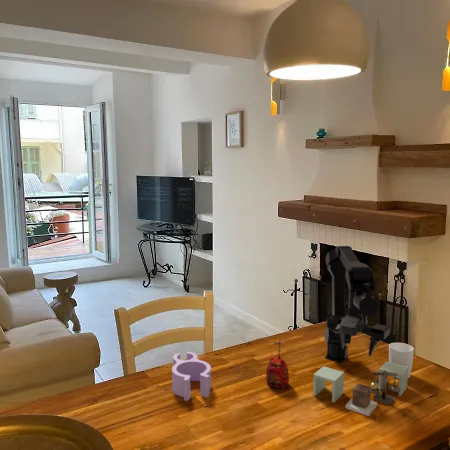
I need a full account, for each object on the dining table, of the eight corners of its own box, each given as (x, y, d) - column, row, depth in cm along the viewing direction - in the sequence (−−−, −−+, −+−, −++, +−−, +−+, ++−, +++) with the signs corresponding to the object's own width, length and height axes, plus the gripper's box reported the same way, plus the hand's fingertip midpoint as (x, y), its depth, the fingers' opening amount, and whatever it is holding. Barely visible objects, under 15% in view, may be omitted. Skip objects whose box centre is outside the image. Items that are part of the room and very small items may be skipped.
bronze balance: (366, 397, 140) (368, 368, 139) (370, 393, 143) (372, 364, 142) (397, 407, 135) (398, 376, 133) (400, 402, 137) (402, 372, 136)
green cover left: (313, 395, 142) (313, 374, 141) (322, 386, 147) (323, 366, 146) (334, 402, 137) (334, 380, 136) (343, 393, 143) (344, 372, 142)
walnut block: (352, 404, 134) (352, 388, 134) (357, 398, 137) (358, 383, 137) (365, 408, 132) (366, 392, 131) (370, 403, 135) (371, 387, 134)
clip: (165, 373, 156) (165, 354, 156) (200, 368, 160) (200, 350, 159) (177, 402, 138) (177, 381, 137) (216, 396, 141) (216, 375, 140)
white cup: (408, 370, 159) (409, 342, 157) (415, 380, 151) (417, 352, 149) (385, 369, 159) (386, 342, 158) (390, 379, 152) (392, 351, 150)
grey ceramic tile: (345, 408, 134) (345, 405, 134) (354, 398, 140) (354, 395, 139) (368, 416, 130) (368, 412, 130) (377, 405, 135) (377, 402, 135)
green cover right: (378, 389, 145) (379, 368, 144) (385, 381, 151) (386, 361, 150) (400, 396, 141) (401, 375, 140) (407, 387, 146) (408, 366, 145)
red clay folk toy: (262, 386, 147) (263, 342, 145) (270, 377, 153) (271, 335, 151) (285, 391, 144) (285, 346, 142) (292, 382, 150) (293, 339, 148)
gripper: (319, 306, 142) (318, 353, 144) (378, 318, 130) (376, 369, 133) (334, 297, 150) (332, 342, 153) (391, 308, 139) (388, 356, 141)
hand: (355, 352), depth 145 cm, fingers open, 9 cm apart
